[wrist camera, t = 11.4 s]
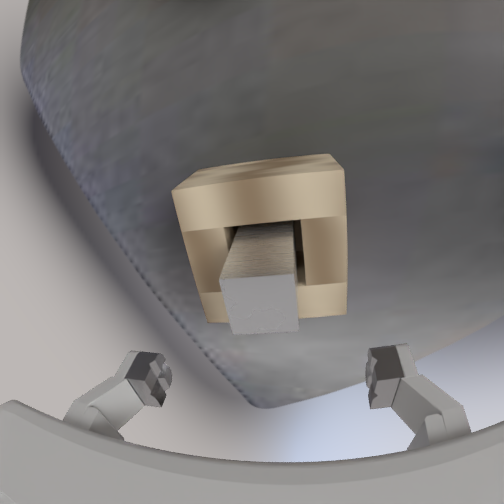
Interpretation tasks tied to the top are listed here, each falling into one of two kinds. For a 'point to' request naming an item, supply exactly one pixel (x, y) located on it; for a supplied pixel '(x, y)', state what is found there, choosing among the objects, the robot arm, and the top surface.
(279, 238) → the square bit
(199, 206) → the socket block
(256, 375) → the top surface
